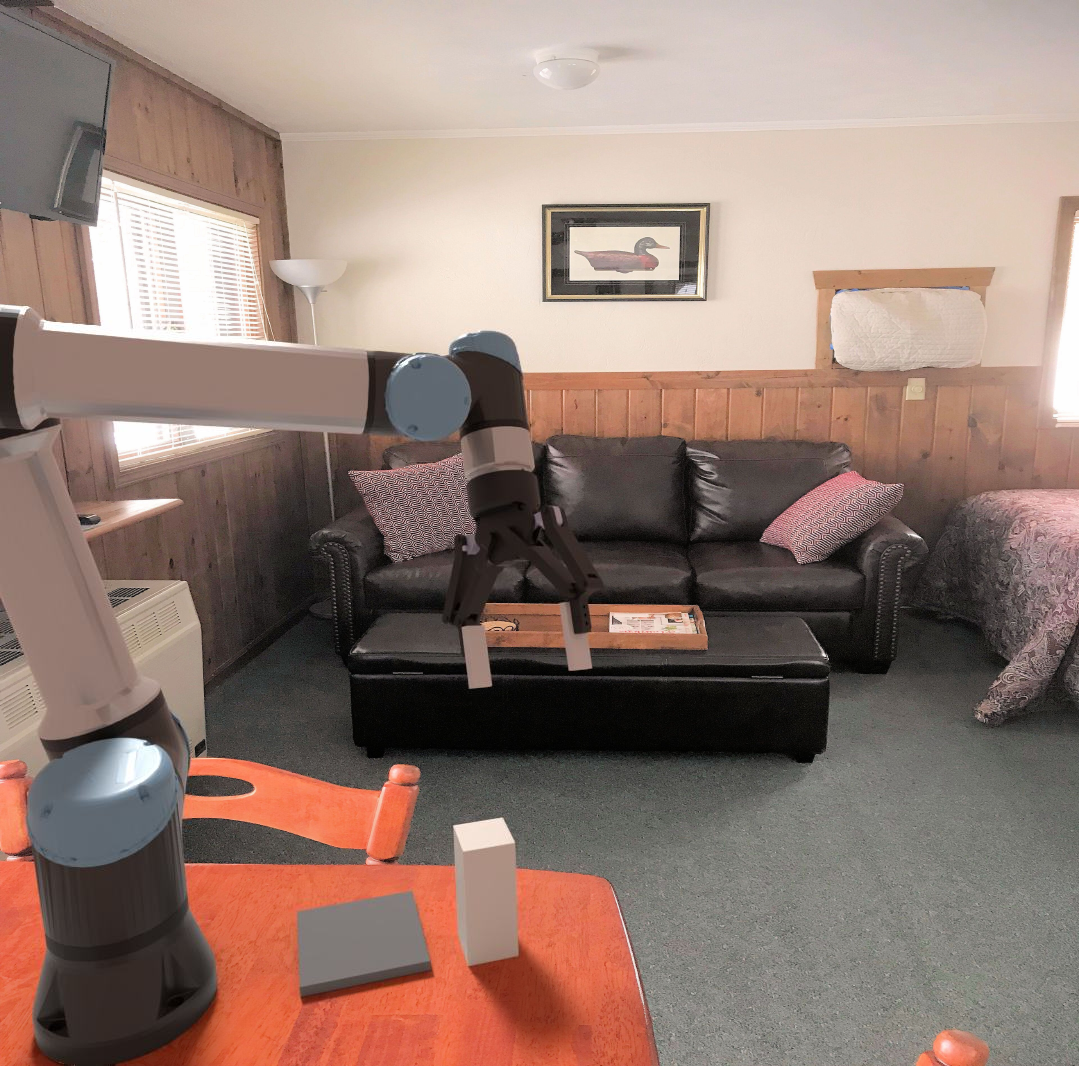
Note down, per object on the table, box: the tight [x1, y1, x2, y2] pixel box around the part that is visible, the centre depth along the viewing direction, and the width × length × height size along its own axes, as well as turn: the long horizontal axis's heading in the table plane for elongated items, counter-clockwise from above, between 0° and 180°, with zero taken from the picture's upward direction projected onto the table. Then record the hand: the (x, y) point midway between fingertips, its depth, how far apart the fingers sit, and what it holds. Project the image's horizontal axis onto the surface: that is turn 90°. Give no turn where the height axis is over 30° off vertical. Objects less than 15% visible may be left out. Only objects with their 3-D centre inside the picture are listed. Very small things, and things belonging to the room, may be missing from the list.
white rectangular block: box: [452, 817, 519, 967], centre depth 87 cm, size 5×5×12 cm
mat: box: [296, 890, 432, 998], centre depth 89 cm, size 12×12×1 cm
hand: (528, 679), depth 90 cm, fingers open, 13 cm apart
